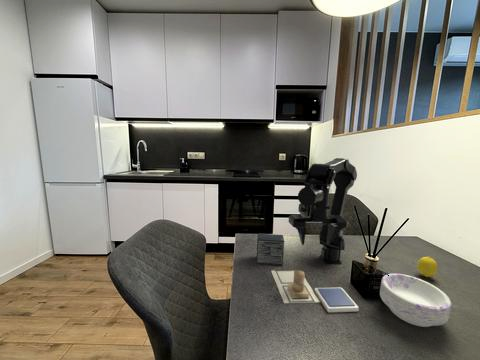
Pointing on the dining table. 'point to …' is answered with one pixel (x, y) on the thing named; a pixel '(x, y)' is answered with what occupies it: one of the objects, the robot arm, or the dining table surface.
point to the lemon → (427, 266)
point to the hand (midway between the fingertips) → (315, 244)
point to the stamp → (298, 286)
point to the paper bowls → (415, 300)
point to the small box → (270, 249)
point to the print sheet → (287, 278)
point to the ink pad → (336, 300)
